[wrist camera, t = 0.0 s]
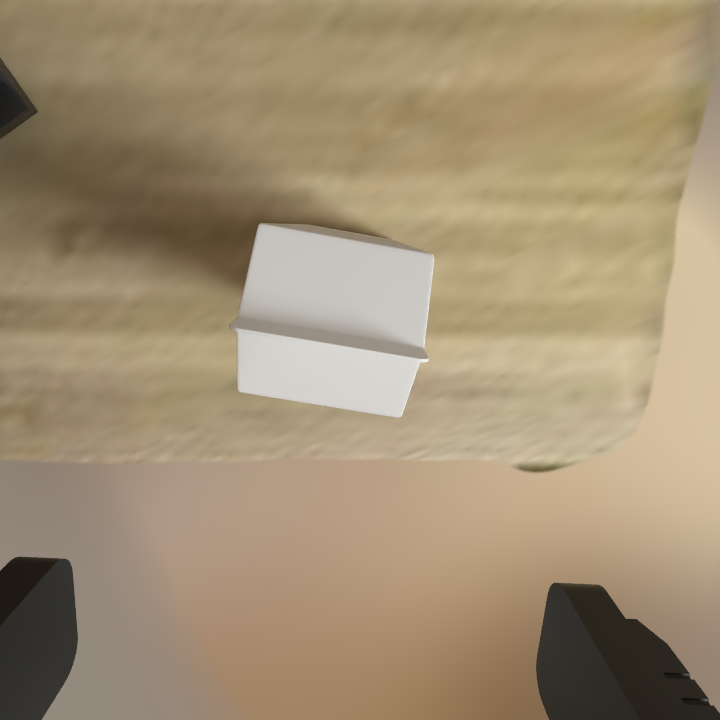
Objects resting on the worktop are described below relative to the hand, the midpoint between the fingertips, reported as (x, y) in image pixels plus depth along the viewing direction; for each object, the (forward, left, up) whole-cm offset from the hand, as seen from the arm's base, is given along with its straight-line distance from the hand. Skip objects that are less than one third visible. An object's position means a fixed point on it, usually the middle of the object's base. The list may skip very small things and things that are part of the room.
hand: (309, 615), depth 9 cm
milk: (-3, 0, -30) cm, 30 cm away
